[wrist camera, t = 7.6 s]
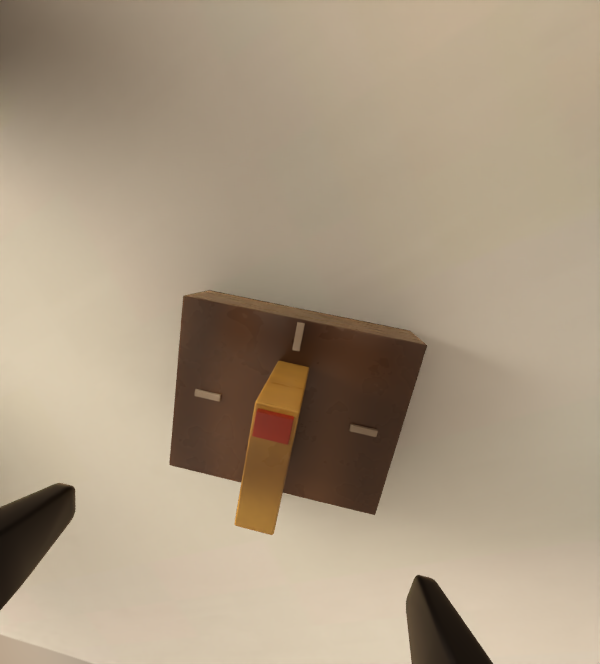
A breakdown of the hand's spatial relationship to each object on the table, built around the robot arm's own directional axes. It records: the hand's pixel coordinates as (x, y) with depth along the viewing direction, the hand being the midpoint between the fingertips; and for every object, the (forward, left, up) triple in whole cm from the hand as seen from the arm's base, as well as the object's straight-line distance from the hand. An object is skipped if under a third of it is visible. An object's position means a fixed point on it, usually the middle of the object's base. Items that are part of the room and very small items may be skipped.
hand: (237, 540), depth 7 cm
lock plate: (0, 0, -11) cm, 11 cm away
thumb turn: (0, -1, -8) cm, 8 cm away
